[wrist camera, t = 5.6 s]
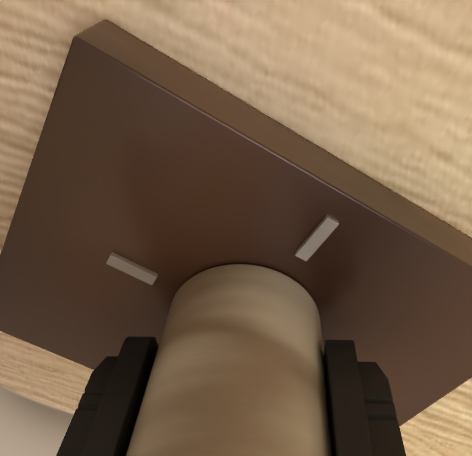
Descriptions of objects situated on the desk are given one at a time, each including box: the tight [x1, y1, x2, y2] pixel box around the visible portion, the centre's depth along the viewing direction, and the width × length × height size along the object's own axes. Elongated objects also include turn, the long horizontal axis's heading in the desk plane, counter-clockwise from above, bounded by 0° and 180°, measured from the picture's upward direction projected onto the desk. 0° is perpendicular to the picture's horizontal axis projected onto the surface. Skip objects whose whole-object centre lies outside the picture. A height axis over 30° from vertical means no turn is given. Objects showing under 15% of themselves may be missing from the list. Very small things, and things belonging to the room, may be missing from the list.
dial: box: [126, 264, 332, 456], centre depth 11 cm, size 4×4×6 cm
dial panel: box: [0, 20, 472, 426], centre depth 14 cm, size 14×10×2 cm
